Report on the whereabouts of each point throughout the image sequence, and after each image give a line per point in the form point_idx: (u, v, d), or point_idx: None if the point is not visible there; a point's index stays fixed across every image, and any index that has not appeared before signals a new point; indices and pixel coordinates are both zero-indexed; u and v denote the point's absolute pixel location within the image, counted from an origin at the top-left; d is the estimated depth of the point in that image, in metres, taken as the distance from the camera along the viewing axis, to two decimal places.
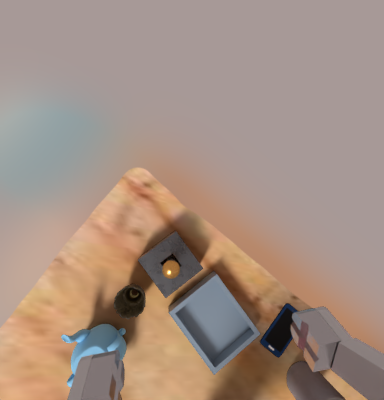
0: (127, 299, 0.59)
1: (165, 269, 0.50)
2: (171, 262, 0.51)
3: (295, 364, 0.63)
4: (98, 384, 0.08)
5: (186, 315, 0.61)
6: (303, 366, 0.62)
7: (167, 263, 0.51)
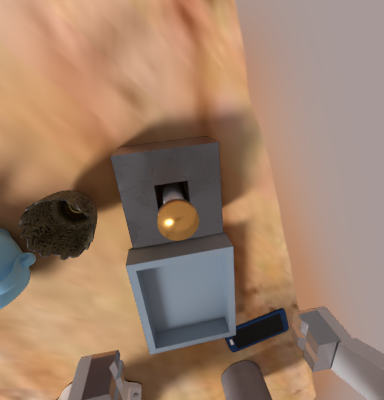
0: (59, 211, 0.29)
1: (167, 215, 0.20)
2: (187, 209, 0.21)
3: (244, 363, 0.51)
4: (98, 384, 0.08)
5: (149, 273, 0.36)
6: (253, 371, 0.49)
7: (178, 206, 0.20)
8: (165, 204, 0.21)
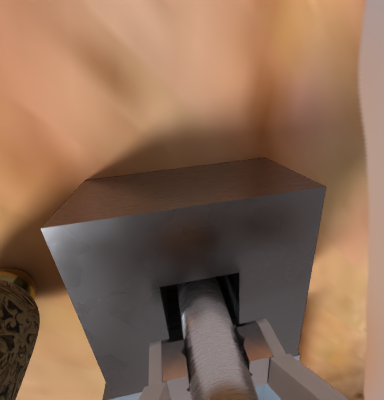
0: None
1: None
2: None
3: None
4: (175, 367, 0.08)
5: None
6: None
7: None
8: None
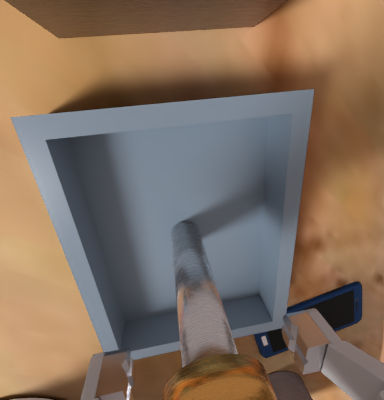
0: None
1: None
2: None
3: (281, 375, 0.30)
4: (111, 381, 0.08)
5: (102, 180, 0.16)
6: (298, 390, 0.29)
7: None
8: (187, 379, 0.07)
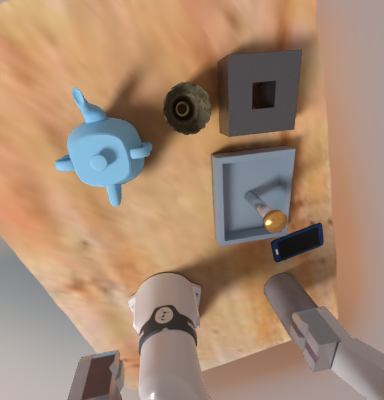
0: (171, 110, 0.39)
1: (272, 219, 0.37)
2: (283, 215, 0.37)
3: (284, 274, 0.61)
4: (98, 384, 0.08)
5: (225, 175, 0.46)
6: (292, 279, 0.59)
7: (278, 214, 0.37)
8: (270, 212, 0.38)
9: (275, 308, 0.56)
